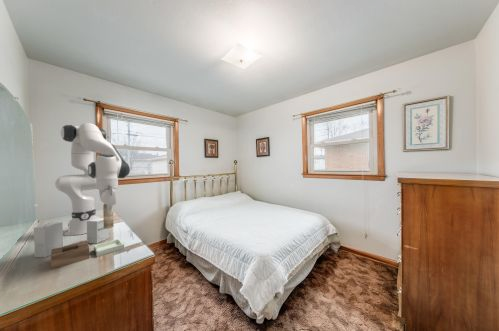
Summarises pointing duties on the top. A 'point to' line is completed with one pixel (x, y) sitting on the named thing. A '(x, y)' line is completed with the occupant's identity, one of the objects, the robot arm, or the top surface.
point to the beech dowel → (107, 217)
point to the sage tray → (108, 247)
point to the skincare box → (48, 238)
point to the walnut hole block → (69, 254)
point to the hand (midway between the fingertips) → (108, 211)
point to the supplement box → (96, 231)
